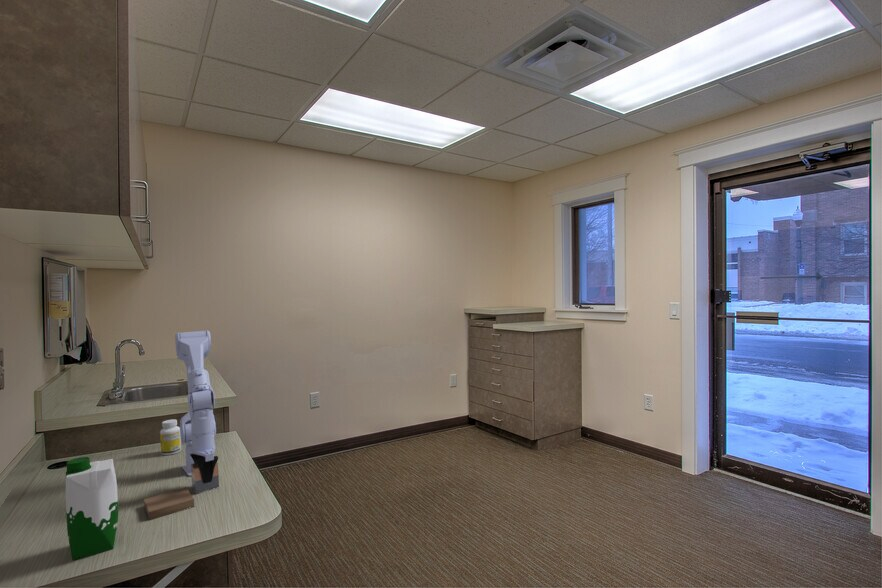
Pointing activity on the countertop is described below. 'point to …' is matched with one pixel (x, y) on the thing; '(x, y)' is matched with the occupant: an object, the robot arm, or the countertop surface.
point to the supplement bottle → (170, 437)
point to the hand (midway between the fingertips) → (205, 479)
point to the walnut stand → (168, 503)
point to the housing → (197, 479)
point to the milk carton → (91, 506)
